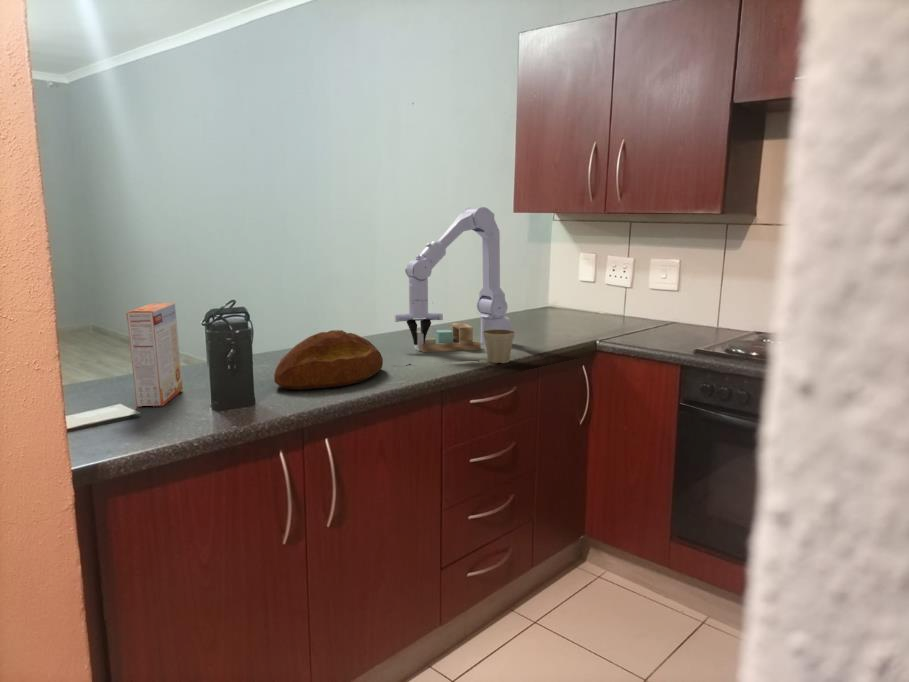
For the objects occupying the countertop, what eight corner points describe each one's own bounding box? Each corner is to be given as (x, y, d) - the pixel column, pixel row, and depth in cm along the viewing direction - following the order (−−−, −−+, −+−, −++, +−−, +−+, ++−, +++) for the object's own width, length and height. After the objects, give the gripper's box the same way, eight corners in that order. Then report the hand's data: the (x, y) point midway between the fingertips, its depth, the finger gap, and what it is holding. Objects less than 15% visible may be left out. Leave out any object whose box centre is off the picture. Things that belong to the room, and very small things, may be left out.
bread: (251, 385, 160) (248, 335, 158) (355, 364, 185) (354, 320, 182) (303, 400, 147) (300, 345, 145) (408, 375, 171) (407, 328, 169)
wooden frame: (471, 346, 210) (471, 322, 209) (480, 351, 201) (480, 327, 199) (416, 348, 206) (416, 324, 205) (422, 354, 196) (422, 329, 195)
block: (449, 343, 205) (449, 329, 205) (453, 346, 201) (453, 332, 200) (435, 344, 204) (435, 330, 204) (438, 347, 200) (438, 332, 199)
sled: (451, 345, 207) (451, 329, 206) (456, 349, 200) (456, 332, 199) (414, 347, 204) (414, 330, 203) (418, 351, 197) (418, 334, 197)
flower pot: (518, 359, 189) (519, 329, 188) (510, 366, 181) (511, 335, 179) (487, 357, 193) (487, 328, 191) (478, 363, 184) (478, 333, 182)
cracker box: (157, 391, 153) (149, 302, 150) (183, 391, 154) (177, 302, 150) (133, 408, 140) (124, 310, 136) (162, 407, 140) (154, 310, 136)
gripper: (439, 297, 204) (439, 341, 206) (392, 299, 200) (393, 343, 203) (444, 300, 197) (444, 344, 199) (396, 301, 194) (397, 347, 196)
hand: (419, 344), depth 201 cm, fingers closed on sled, 2 cm apart
